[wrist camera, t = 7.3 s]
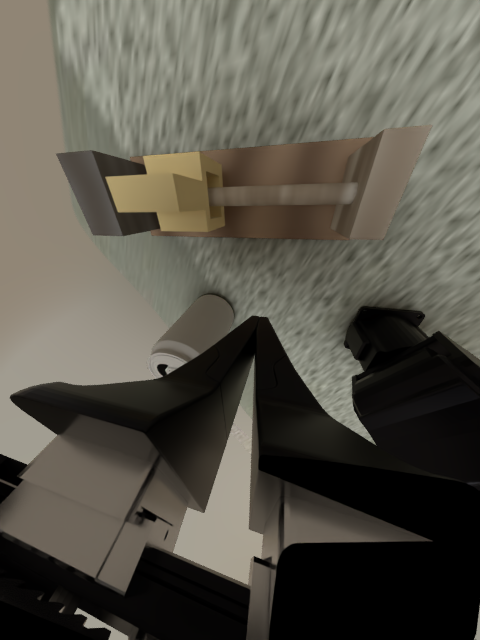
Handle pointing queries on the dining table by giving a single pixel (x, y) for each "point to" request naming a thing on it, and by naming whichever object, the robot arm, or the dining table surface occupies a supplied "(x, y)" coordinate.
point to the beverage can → (191, 334)
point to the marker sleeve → (173, 191)
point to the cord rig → (272, 188)
